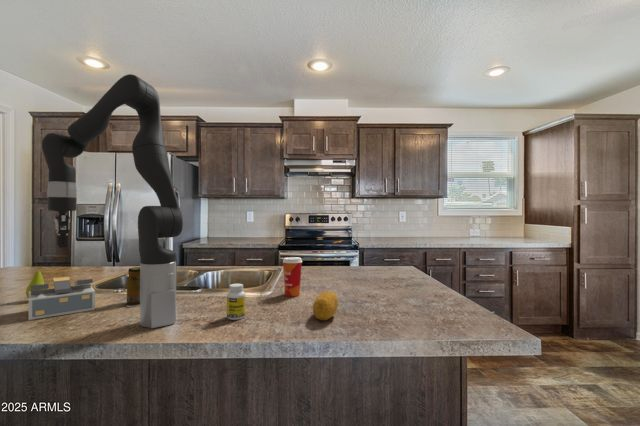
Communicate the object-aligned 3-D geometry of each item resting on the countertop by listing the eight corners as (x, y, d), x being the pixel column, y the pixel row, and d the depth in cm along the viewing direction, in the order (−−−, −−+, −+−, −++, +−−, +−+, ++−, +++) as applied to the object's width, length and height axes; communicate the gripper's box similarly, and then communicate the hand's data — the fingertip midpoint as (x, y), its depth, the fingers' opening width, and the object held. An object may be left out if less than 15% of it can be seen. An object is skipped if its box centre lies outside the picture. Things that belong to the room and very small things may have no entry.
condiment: (145, 299, 120) (145, 265, 120) (151, 304, 113) (151, 269, 113) (122, 302, 115) (122, 267, 115) (126, 308, 108) (127, 271, 108)
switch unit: (95, 310, 106) (95, 287, 106) (28, 320, 95) (28, 295, 95) (90, 301, 115) (90, 281, 115) (28, 310, 105) (28, 287, 105)
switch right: (92, 282, 107) (92, 278, 107) (77, 284, 104) (77, 280, 104) (88, 284, 114) (88, 280, 114) (74, 285, 111) (74, 281, 112)
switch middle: (71, 291, 103) (71, 287, 103) (54, 293, 100) (54, 289, 100) (68, 280, 110) (68, 276, 110) (53, 281, 108) (53, 277, 107)
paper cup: (280, 292, 129) (280, 257, 129) (299, 291, 132) (299, 256, 131) (284, 298, 122) (284, 260, 122) (304, 296, 124) (304, 259, 124)
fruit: (25, 303, 112) (25, 268, 112) (26, 300, 117) (26, 266, 117) (47, 300, 116) (47, 266, 116) (47, 297, 121) (47, 264, 121)
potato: (341, 310, 107) (341, 289, 106) (333, 326, 92) (333, 300, 92) (319, 309, 108) (319, 287, 108) (308, 324, 94) (308, 299, 94)
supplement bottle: (226, 321, 96) (226, 287, 96) (226, 315, 101) (226, 283, 101) (245, 319, 97) (245, 286, 97) (244, 314, 103) (245, 282, 103)
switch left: (48, 287, 99) (48, 283, 100) (30, 289, 97) (30, 285, 97) (47, 288, 107) (47, 284, 107) (30, 290, 104) (30, 286, 104)
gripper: (78, 196, 105) (78, 247, 105) (74, 197, 116) (74, 244, 116) (48, 195, 100) (47, 249, 100) (46, 196, 111) (46, 245, 111)
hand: (62, 246), depth 108 cm, fingers open, 7 cm apart
